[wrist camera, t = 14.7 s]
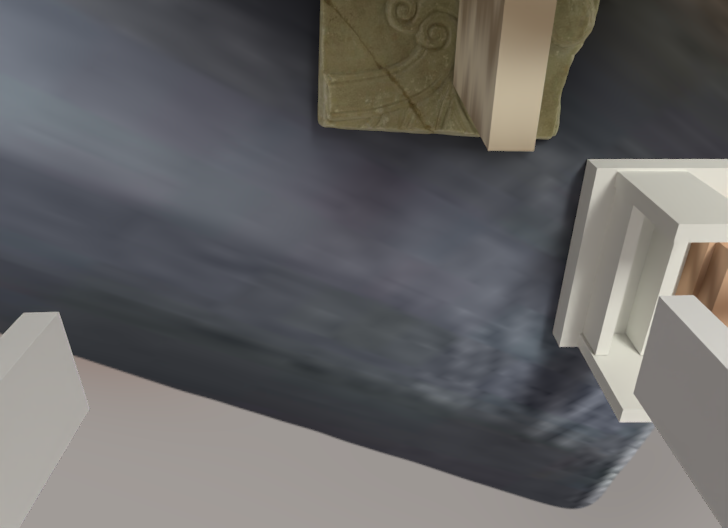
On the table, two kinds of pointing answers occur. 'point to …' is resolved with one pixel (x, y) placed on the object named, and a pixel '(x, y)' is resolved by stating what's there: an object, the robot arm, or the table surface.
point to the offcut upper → (717, 283)
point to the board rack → (633, 260)
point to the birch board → (503, 68)
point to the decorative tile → (420, 65)
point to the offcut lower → (695, 268)
